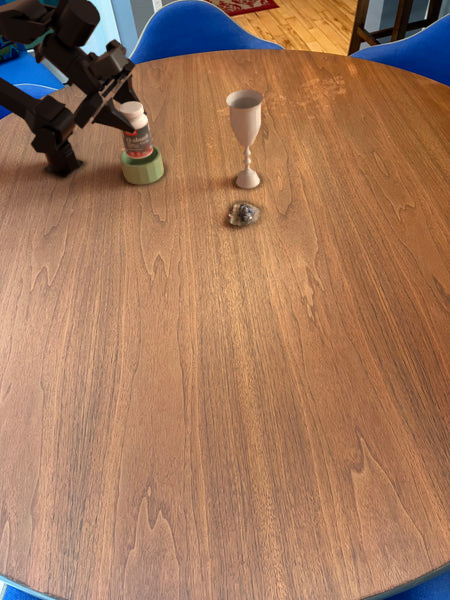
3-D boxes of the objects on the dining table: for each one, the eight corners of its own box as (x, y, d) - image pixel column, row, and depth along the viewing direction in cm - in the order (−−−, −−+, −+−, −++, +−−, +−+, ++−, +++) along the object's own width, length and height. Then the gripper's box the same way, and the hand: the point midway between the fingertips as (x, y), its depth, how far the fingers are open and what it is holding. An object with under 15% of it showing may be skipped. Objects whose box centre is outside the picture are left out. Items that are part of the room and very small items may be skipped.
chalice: (261, 192, 98) (260, 109, 85) (228, 190, 100) (222, 108, 86) (266, 172, 103) (266, 90, 89) (235, 170, 104) (230, 88, 91)
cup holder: (116, 177, 105) (111, 160, 102) (141, 157, 110) (137, 139, 107) (147, 189, 102) (142, 171, 98) (171, 167, 106) (168, 149, 103)
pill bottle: (130, 162, 98) (119, 117, 90) (123, 149, 101) (112, 104, 94) (157, 155, 99) (148, 109, 91) (149, 142, 103) (140, 97, 95)
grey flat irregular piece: (230, 231, 91) (229, 223, 90) (222, 206, 96) (221, 198, 95) (264, 225, 92) (264, 217, 90) (255, 200, 97) (254, 192, 96)
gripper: (67, 54, 78) (143, 124, 84) (115, 11, 89) (178, 75, 95) (42, 97, 85) (112, 158, 91) (89, 53, 97) (149, 109, 103)
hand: (139, 123), depth 95 cm, fingers closed on pill bottle, 6 cm apart
